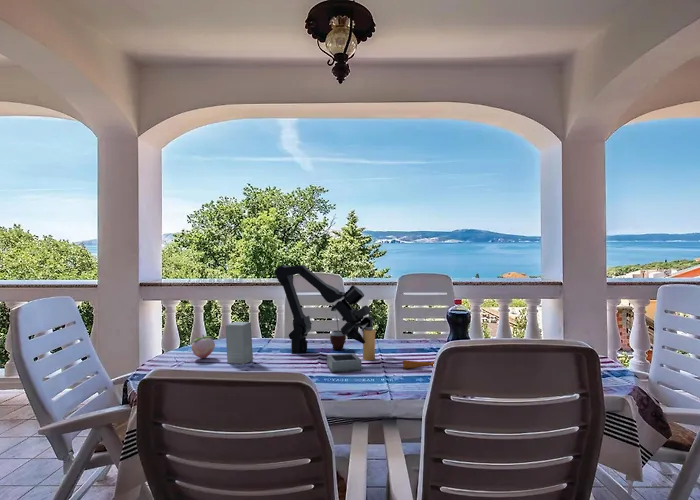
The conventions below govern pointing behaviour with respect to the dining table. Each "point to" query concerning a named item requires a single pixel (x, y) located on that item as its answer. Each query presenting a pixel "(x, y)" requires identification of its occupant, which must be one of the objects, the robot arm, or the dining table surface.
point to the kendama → (415, 364)
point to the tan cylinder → (369, 344)
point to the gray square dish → (344, 363)
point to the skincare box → (239, 342)
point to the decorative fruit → (203, 346)
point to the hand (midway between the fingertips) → (370, 341)
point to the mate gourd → (337, 339)
